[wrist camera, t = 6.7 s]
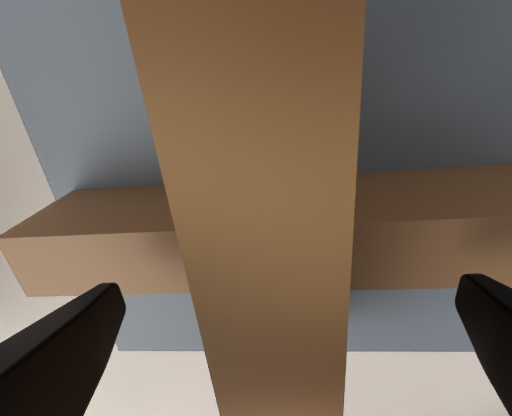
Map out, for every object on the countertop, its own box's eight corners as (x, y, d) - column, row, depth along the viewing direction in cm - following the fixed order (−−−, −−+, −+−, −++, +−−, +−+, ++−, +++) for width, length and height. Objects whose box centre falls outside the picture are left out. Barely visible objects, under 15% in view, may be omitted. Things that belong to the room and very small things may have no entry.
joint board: (611, -111, 9) (968, -298, 4) (472, 335, 16) (544, 439, 12) (-13, -19, 11) (-222, -77, 6) (126, 336, 19) (77, 424, 14)
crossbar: (310, 324, 16) (335, 549, 8) (264, 324, 16) (250, 543, 9) (304, 3, 10) (375, -173, 2) (229, 12, 10) (91, -120, 3)
